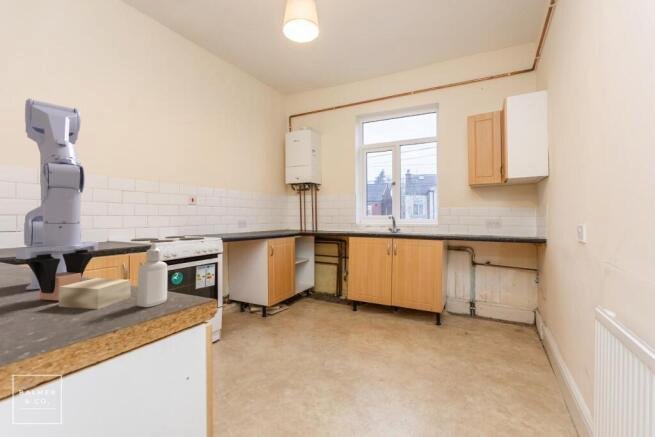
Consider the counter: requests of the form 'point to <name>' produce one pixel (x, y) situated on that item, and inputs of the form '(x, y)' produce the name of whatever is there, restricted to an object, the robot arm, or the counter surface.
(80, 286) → the birch block
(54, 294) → the terracotta cube
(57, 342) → the counter surface
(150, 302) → the eye dropper bottle
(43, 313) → the counter surface
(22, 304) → the counter surface
